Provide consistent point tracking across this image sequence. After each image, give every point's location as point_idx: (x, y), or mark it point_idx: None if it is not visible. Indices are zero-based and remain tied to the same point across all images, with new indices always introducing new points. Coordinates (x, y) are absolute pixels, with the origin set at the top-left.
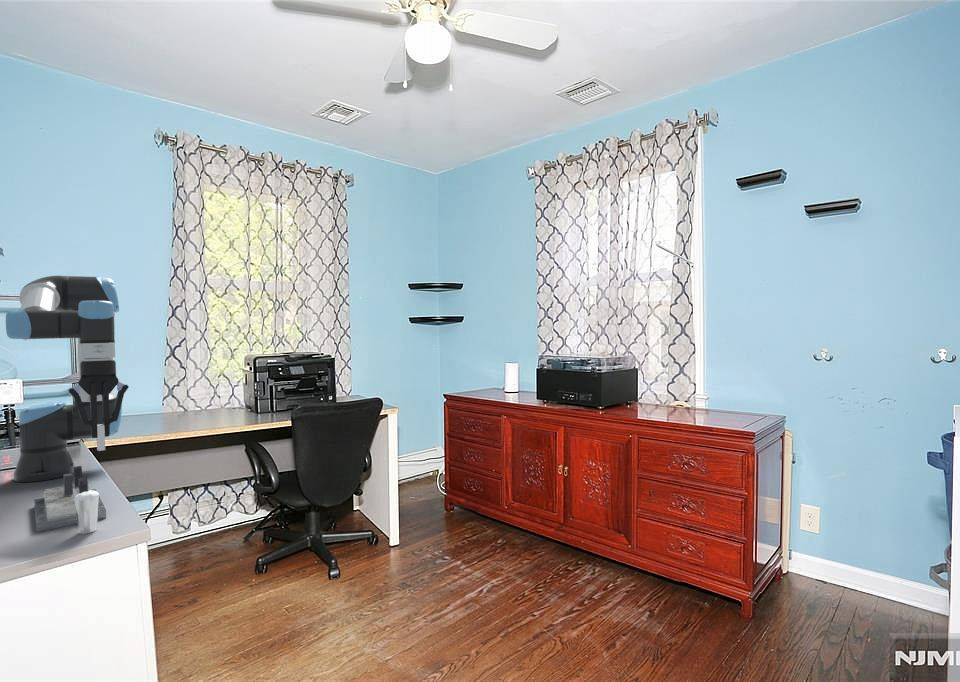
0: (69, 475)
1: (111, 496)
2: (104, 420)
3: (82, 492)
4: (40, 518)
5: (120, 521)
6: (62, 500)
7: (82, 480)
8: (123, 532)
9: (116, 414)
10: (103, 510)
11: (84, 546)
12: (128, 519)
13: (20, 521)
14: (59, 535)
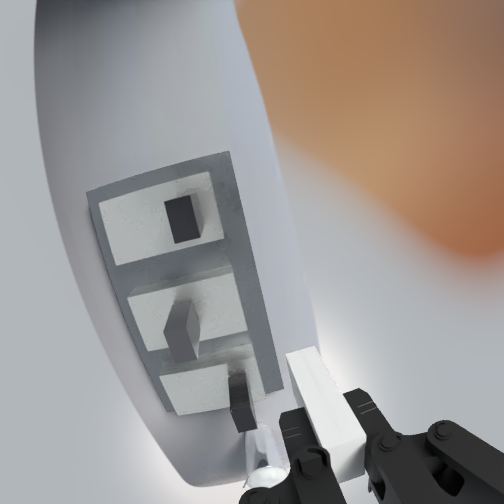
0: (189, 360)
1: (272, 183)
2: (377, 493)
3: (261, 485)
4: (161, 386)
5: None
6: None
7: (245, 430)
8: None
9: (452, 484)
10: (279, 389)
11: None
12: None
13: (105, 310)
14: (216, 430)
